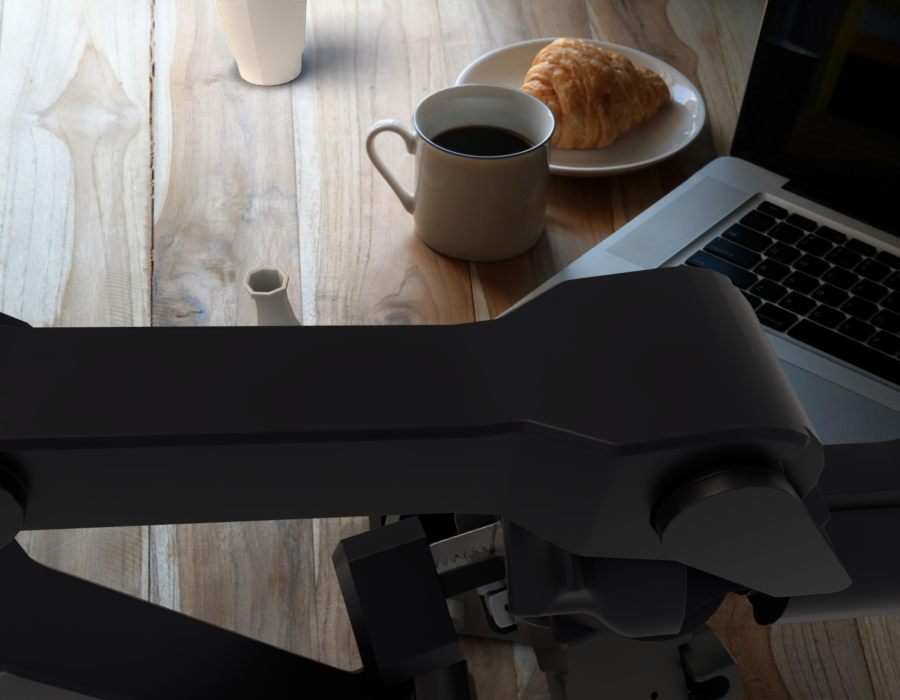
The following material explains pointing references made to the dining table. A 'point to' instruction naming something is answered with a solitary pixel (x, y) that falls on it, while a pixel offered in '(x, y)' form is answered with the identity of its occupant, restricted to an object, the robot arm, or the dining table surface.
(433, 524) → the drawer
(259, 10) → the cup
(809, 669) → the dining table surface
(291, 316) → the flask
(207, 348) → the robot arm
